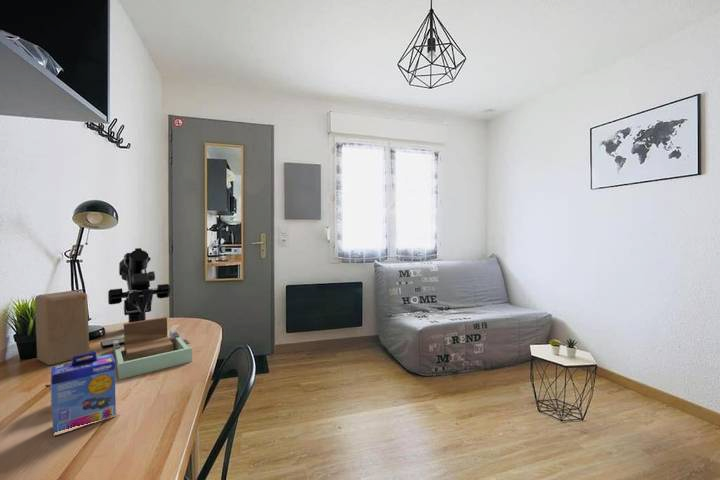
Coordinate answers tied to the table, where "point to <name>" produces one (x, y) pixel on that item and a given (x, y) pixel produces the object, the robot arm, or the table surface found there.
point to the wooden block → (61, 326)
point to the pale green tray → (153, 358)
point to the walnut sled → (146, 338)
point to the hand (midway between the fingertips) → (142, 312)
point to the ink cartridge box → (83, 391)
